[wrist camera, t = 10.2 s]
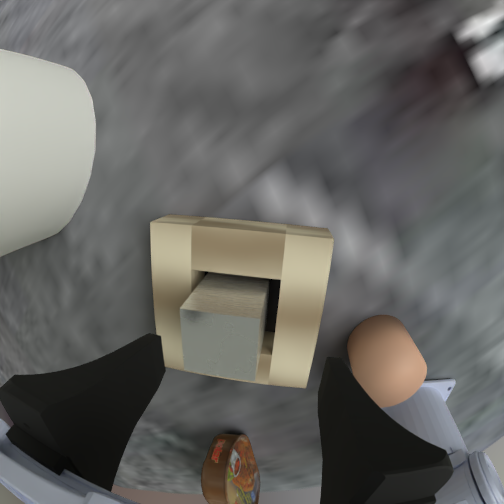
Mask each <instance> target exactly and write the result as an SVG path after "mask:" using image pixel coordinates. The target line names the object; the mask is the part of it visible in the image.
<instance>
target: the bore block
mask: <svg viewBox="0 0 504 504" xmlns="http://www.w3.org/2000/svg"><path fill="white" fill-rule="evenodd" d="M150 233H151V266H152V285H153V299H154V312H155V323H156V333H157V335H160V336H161V339H162V348H163V356H164V364H165V367H169V368H173V369H178V370H182V371H187V370H184V360H183V349H182V336H181V322H180V307H181V306H182V305H183V304H184V302H185V301H186V300H187V299H188V297H189V296H190V295H191V294H192V292H193V291H194V290H195V288H196V287H197V286H198V285H199V283H200V282H201V281H202V280H203V279H204V276H205V271H208V272H217V273H225V274H234V275H242V276H251V277H260V278H269V279H279V280H281V286H280V295H279V303H278V312H277V320H276V328H275V332H267V331H265V333H264V338H263V343H262V348H261V353H260V359H259V364H258V369H257V374H256V379H255V381H249V380H241V379H234V378H227V377H221V376H215V375H209V374H203V373H197V372H192V371H187V372H192V373H197V374H202V375H207V376H213V377H219V378H225V379H231V380H237V381H244V382H252V383H259V384H268V385H277V386H286V387H298V388H306V385H307V381H308V377H309V373H310V368H311V364H312V360H313V355H314V350H315V346H316V341H317V336H318V331H319V326H320V321H321V316H322V311H323V305H324V300H325V294H326V288H327V282H328V276H329V270H330V264H331V257H332V250H333V243H334V238H333V236H332V235H331V233H330V231H329V230H328V229H327V228H317V227H308V226H299V225H289V224H279V223H268V222H258V221H247V220H235V219H223V218H211V217H198V216H185V215H170V214H169V215H167V216H164V217H162V218H159V219H157V220H154V221H152V222H150Z"/></svg>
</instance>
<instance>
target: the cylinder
mask: <svg viewBox="0 0 504 504" xmlns="http://www.w3.org/2000/svg"><path fill="white" fill-rule="evenodd" d="M95 136H96V120H95V114H94V108H93V101H92V97H91V95H90V93H89V91H88V88H87V86H86V84H85V81H84V80H83V79H82V78H81V77H80V76H79V75H78V74H77V73H76V72H75V71H74V70H73V69H70V68H68V67H65V66H62V65H59V64H56V63H52V62H49V61H45V60H42V59H38V58H35V57H31V56H27V55H24V54H20V53H16V52H12V51H7V50H3V49H0V257H1V256H3V255H6V254H8V253H10V252H13V251H15V250H18V249H20V248H23V247H25V246H28V245H30V244H33V243H36V242H38V241H41V240H44V239H46V238H48V237H51V236H53V235H55V234H57V233H59V232H60V231H61V230H62V229H63V228H64V227H65V226H66V225H67V224H68V223H69V222H70V221H71V219H72V217H73V216H74V214H75V212H76V210H77V209H78V207H79V205H80V204H81V202H82V199H83V196H84V193H85V191H86V188H87V185H88V182H89V180H90V176H91V170H92V164H93V159H94V154H95Z"/></svg>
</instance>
